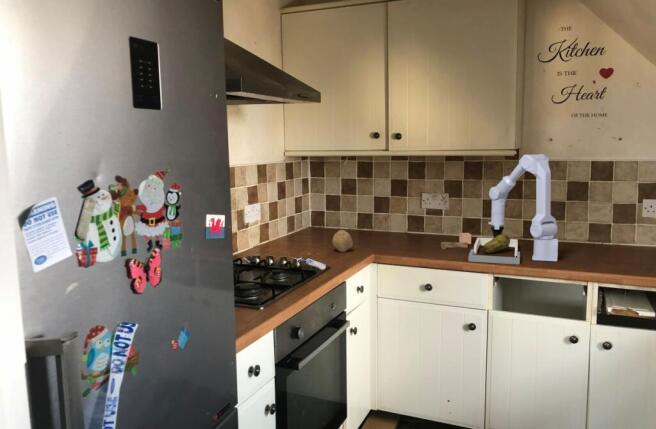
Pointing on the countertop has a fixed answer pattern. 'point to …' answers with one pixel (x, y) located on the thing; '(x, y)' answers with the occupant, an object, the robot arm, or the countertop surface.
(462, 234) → the terracotta block
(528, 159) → the robot arm
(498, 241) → the potato
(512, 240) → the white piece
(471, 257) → the frame
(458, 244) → the crook tool
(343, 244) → the natural sponge
